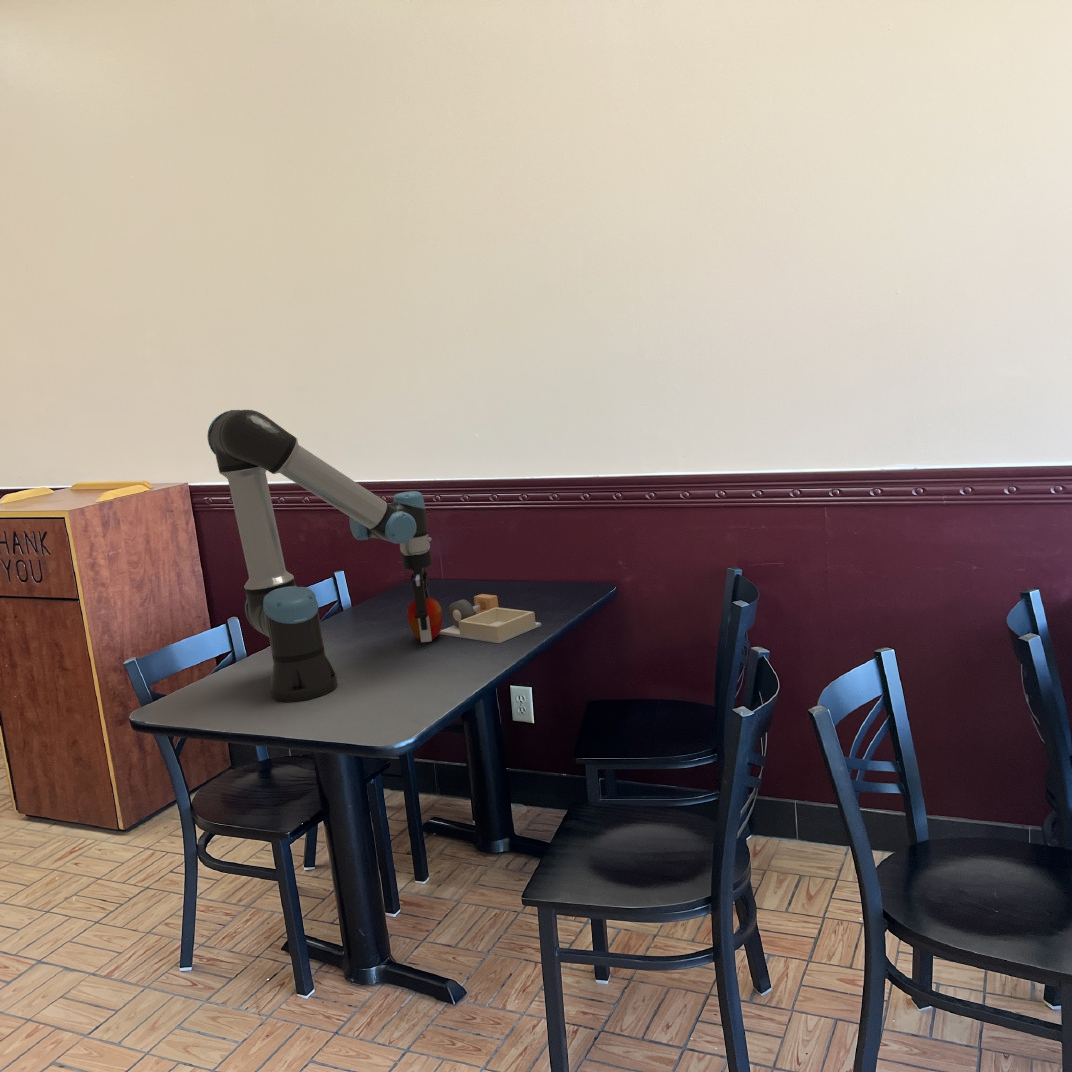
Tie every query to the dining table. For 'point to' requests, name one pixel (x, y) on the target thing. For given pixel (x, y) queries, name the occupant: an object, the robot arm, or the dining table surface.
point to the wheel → (461, 611)
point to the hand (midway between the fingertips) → (427, 635)
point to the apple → (433, 613)
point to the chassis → (493, 622)
